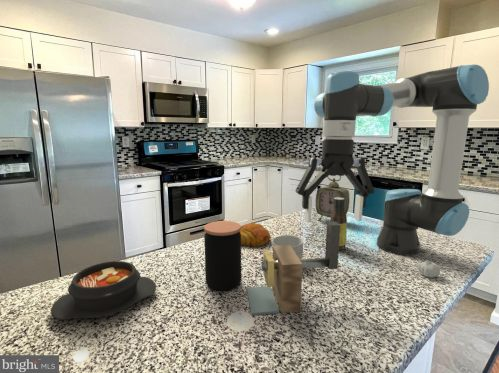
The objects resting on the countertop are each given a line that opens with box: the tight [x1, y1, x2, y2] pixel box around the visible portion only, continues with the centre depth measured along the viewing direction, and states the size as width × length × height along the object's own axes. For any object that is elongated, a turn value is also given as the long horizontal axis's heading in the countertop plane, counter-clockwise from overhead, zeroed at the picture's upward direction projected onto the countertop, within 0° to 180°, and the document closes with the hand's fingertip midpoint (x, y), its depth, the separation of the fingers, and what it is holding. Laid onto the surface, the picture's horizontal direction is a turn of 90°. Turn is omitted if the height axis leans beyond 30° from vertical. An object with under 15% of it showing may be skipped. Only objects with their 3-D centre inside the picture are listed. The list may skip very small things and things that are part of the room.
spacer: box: [262, 249, 274, 288], centre depth 76 cm, size 2×7×7 cm, turn 7°
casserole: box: [50, 260, 157, 321], centre depth 77 cm, size 25×19×8 cm
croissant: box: [240, 222, 272, 248], centre depth 120 cm, size 14×16×8 cm
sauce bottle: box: [329, 197, 348, 251], centre depth 111 cm, size 6×6×20 cm
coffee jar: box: [203, 220, 242, 293], centre depth 85 cm, size 11×11×18 cm
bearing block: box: [271, 245, 303, 314], centre depth 78 cm, size 5×12×13 cm, turn 7°
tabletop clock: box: [315, 175, 350, 221], centre depth 143 cm, size 14×9×25 cm, turn 50°
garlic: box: [417, 260, 441, 278], centre depth 91 cm, size 6×5×5 cm
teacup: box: [271, 233, 304, 259], centre depth 102 cm, size 14×11×8 cm
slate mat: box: [246, 285, 280, 316], centre depth 78 cm, size 7×12×1 cm, turn 7°
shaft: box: [260, 221, 340, 272], centre depth 76 cm, size 20×3×12 cm, turn 97°
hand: (332, 220), depth 76 cm, fingers open, 13 cm apart
